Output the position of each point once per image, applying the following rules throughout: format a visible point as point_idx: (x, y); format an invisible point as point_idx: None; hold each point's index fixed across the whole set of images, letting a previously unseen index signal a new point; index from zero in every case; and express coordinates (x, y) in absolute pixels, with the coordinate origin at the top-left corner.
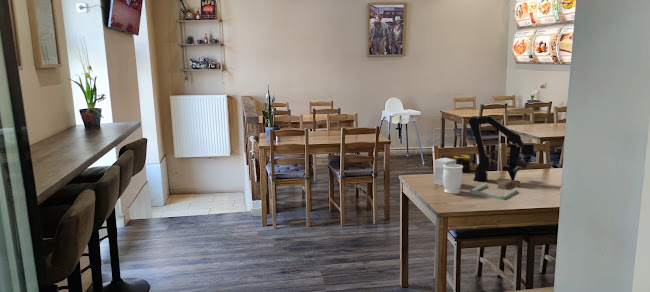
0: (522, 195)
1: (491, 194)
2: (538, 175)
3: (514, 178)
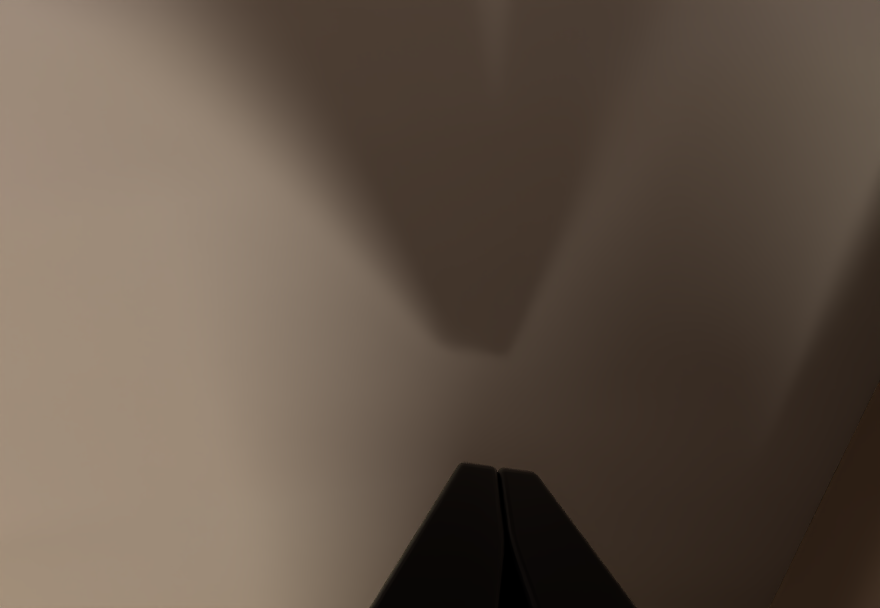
0: None
1: None
2: None
3: (480, 523)
